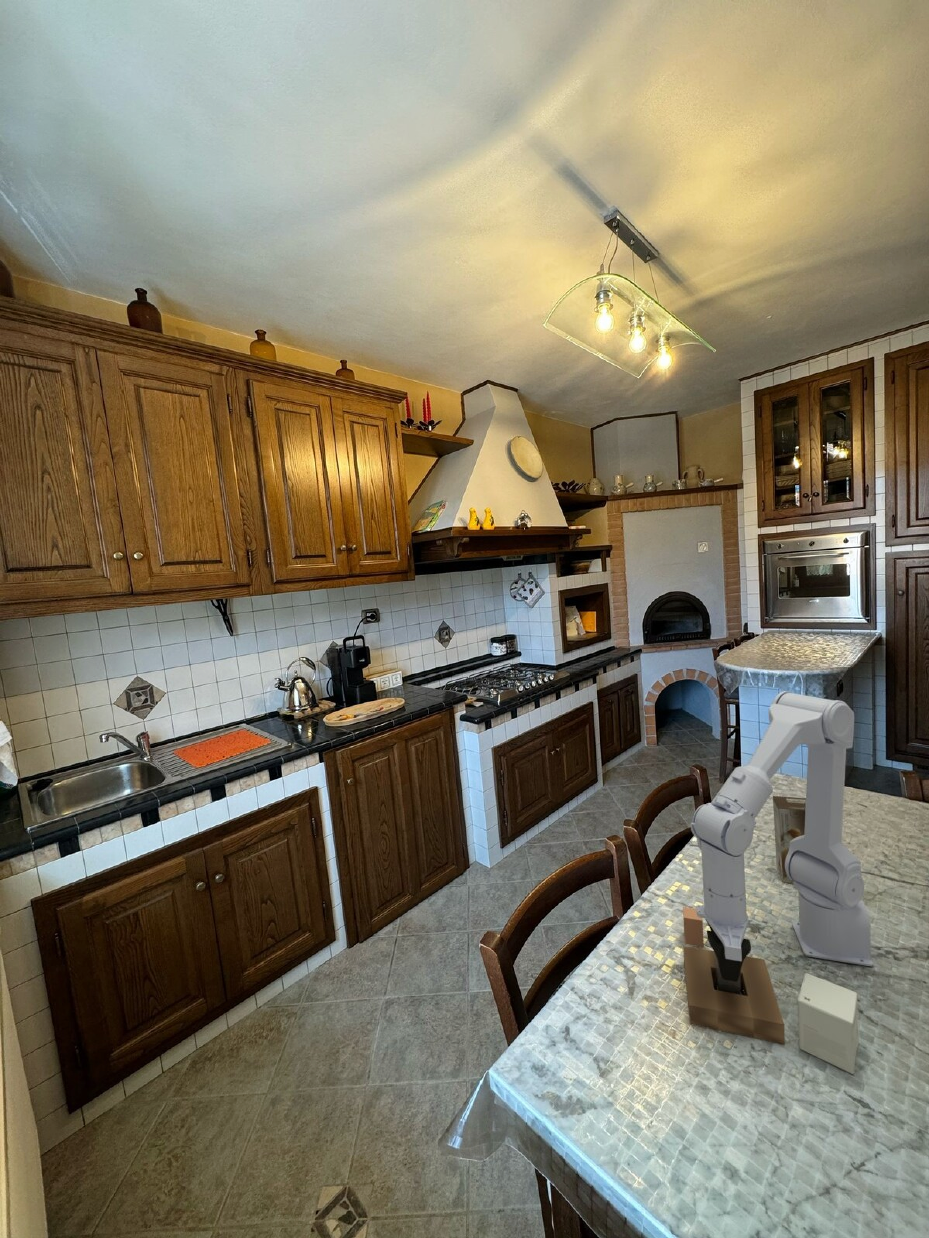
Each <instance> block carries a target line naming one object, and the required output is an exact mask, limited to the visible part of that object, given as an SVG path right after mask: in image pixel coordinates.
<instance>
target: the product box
mask: <svg viewBox="0 0 929 1238" xmlns="http://www.w3.org/2000/svg"><path fill="white" fill-rule="evenodd" d="M858 1015H859V1014H858V993H857V992H855V991H853V990H851V989H849V988H846V987H843V986H841V985H838V984H835V983H833V982H831V981H828V980H825V979H822V978H820V977H817V976H815V975H812V974H809V973H807V972H806V973H804V977H803V980H802V983H801V987H800V992H799V993H798V998H797V1018H798V1024H797V1025H798V1042H799V1043H798V1046H799V1049H800V1050H802V1051H804V1052H806V1053H807V1054H808V1053H809V1054H810V1055H812V1056H814V1057H816V1058H818V1059H820V1060H823V1061H824V1062H827V1063H829V1064H830V1065H833V1066H835V1067H837V1068H839V1069H841V1070H842V1071H844V1072H847V1073H848V1074H851V1075H854V1074H855V1064H856V1057H857V1053H858V1052H857V1051H858V1047H859V1039H860V1038H859V1018H858Z"/></svg>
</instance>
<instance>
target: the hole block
mask: <svg viewBox="0 0 929 1238" xmlns="http://www.w3.org/2000/svg"><path fill="white" fill-rule="evenodd" d="M682 948H683V949H682V950H683V964H684V973H685V974H684V975H685V977H684V978H685V985H686V994H687V1004H688V1005H687V1006H688V1016H689V1024H690V1025H692V1024H693V1026H697V1025H698V1027H702V1026H703V1027H702V1028H706V1027H708V1028H707V1029H711V1028H712V1029H711V1030H715V1031H720V1030H721V1031H722V1032H725V1033H731V1034H735V1035H740V1036H744V1037H748V1038H749V1037H750V1038H753V1039H758V1040H763V1041H767V1042H773V1043H777V1044H781V1045H785V1044H786V1037H785V1035H786V1034H785V1023H784V1020H783V1016H782V1013H781V1010H780V1006H779V1003H778V999H777V996H776V993H775V990H774V986H773V983H772V979H771V976H770V974H769V970H768V966H767V963H766V960H765V959H764V958H760V957H759V958H758V957H753V956H748V955H747V956H746V958H745V959H744V961H743V964H742V967H741V972H740V984H741V991H743V994H741V995H739V994H734V993H728V992H723V991H718V990H717V989H715V987H714V986H716V987H717V982H716V964H715V952H714V950H710V949H705V948H700V947H692V946H686V945H683V946H682Z"/></svg>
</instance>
